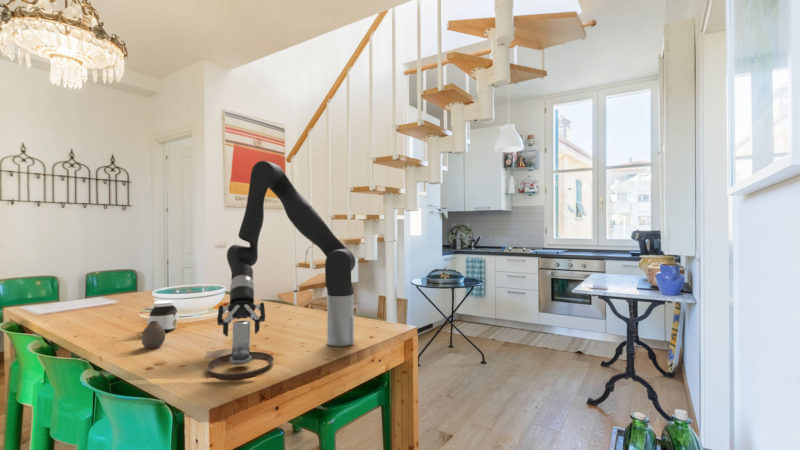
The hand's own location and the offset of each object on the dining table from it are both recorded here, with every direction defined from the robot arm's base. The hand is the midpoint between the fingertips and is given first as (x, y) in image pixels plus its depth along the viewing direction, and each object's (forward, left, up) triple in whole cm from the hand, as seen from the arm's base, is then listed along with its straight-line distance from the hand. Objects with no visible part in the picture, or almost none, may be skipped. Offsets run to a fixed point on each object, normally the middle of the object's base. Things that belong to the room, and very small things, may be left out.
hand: (241, 333), depth 120 cm
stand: (+8, -2, -8) cm, 11 cm away
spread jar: (+45, -37, -8) cm, 58 cm away
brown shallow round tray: (-4, +11, -8) cm, 14 cm away
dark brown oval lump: (+35, -14, -8) cm, 38 cm away
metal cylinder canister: (-3, +11, -5) cm, 13 cm away
